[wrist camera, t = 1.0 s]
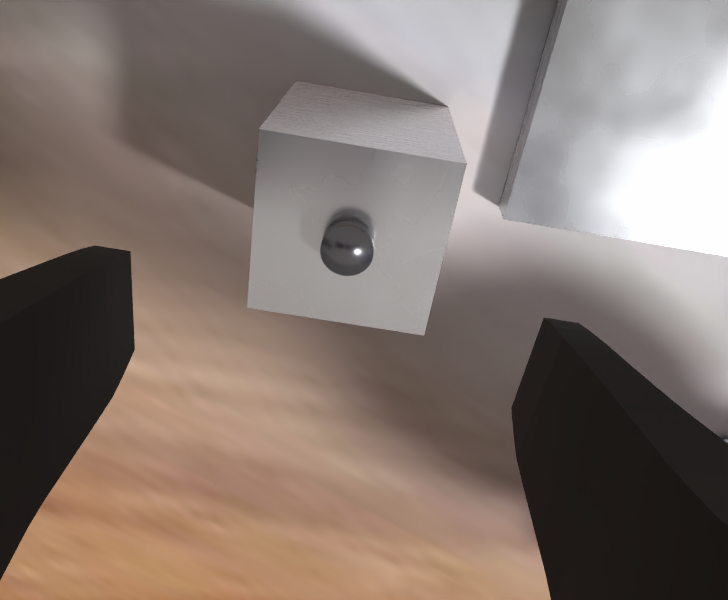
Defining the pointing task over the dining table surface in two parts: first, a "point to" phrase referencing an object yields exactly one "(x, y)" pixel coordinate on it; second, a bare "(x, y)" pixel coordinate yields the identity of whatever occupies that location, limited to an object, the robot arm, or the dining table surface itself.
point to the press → (628, 125)
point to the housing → (353, 207)
